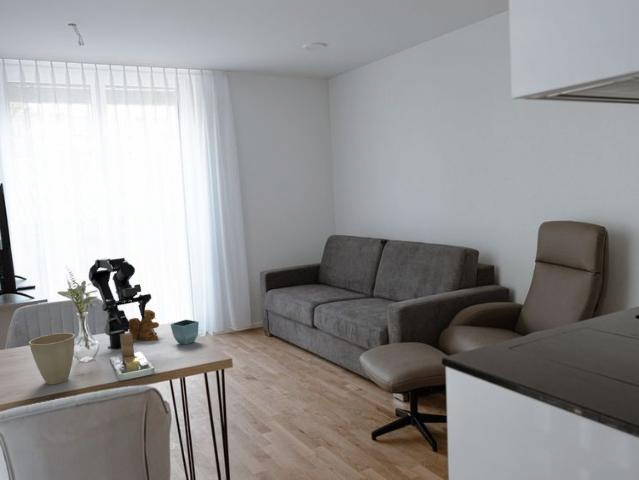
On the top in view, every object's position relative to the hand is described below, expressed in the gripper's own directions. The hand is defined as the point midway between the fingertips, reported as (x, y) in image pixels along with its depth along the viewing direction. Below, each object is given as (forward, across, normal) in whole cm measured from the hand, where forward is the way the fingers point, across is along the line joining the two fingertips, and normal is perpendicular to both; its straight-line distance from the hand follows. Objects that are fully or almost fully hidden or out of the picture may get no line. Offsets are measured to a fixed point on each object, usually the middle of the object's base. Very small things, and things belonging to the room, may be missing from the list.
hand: (132, 321), depth 225 cm
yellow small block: (+20, -8, -8) cm, 23 cm away
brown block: (+17, -6, -2) cm, 18 cm away
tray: (+24, -9, -13) cm, 29 cm away
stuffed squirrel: (+2, +13, +28) cm, 30 cm away
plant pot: (+16, -32, +2) cm, 35 cm away
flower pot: (+12, +23, +9) cm, 28 cm away
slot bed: (+18, -6, -2) cm, 19 cm away
